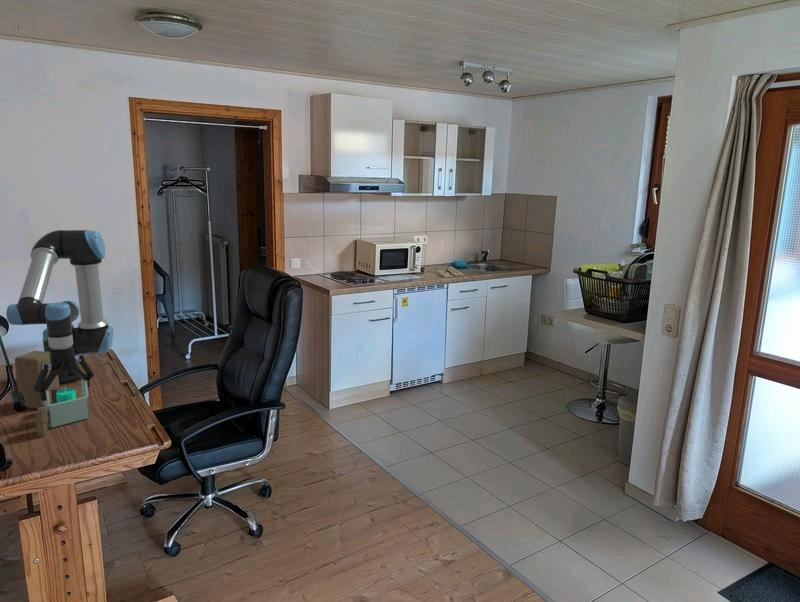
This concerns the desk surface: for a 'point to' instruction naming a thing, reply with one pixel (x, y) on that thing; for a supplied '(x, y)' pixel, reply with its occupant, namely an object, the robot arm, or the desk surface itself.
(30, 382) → the wooden block
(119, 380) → the desk surface
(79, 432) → the desk surface
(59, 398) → the candle
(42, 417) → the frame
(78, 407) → the sage green plank
